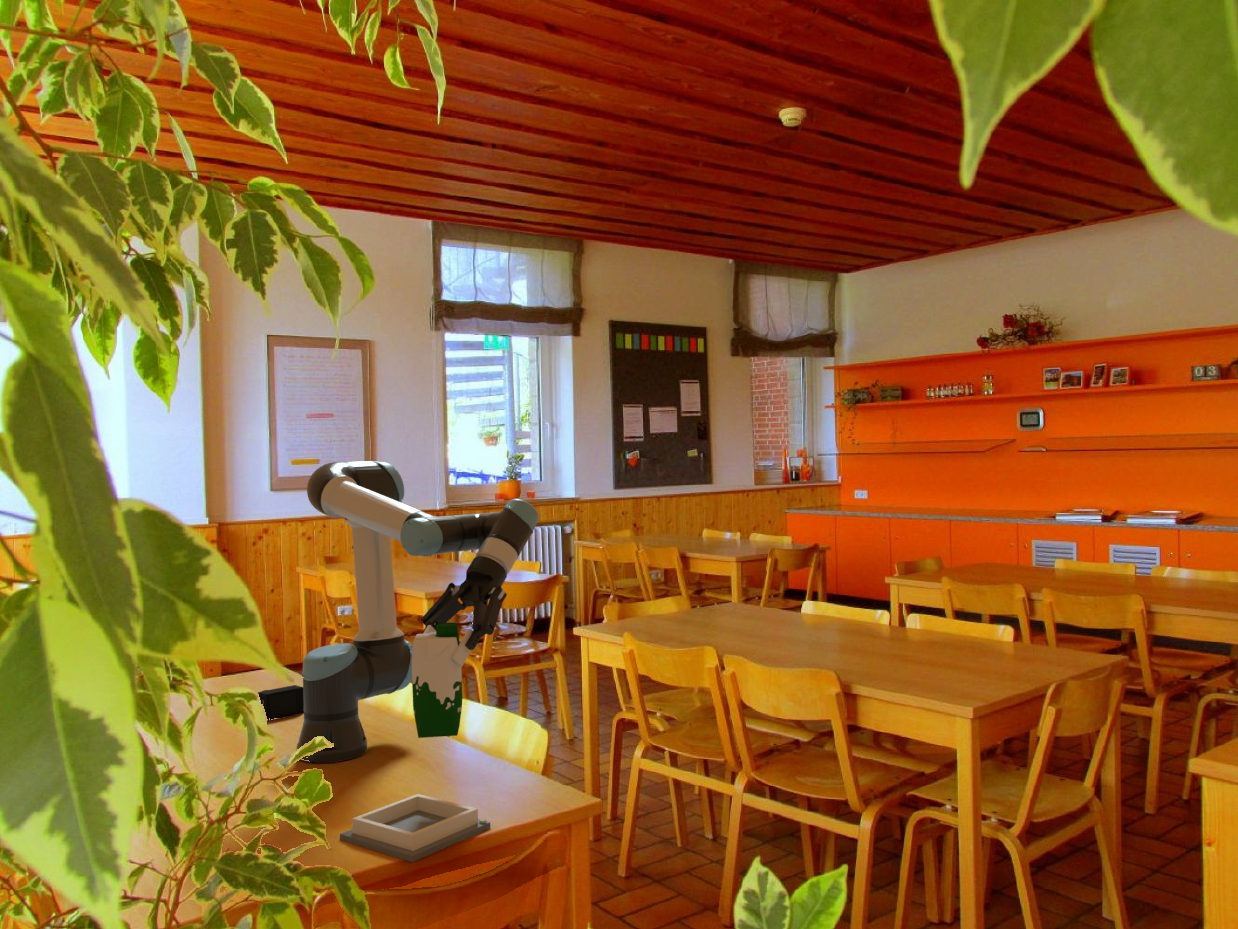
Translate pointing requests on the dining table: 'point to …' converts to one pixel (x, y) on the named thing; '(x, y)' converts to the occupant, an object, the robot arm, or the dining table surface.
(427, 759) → the dining table surface
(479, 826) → the dock
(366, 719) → the dining table surface
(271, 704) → the digital camera
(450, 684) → the soya milk
